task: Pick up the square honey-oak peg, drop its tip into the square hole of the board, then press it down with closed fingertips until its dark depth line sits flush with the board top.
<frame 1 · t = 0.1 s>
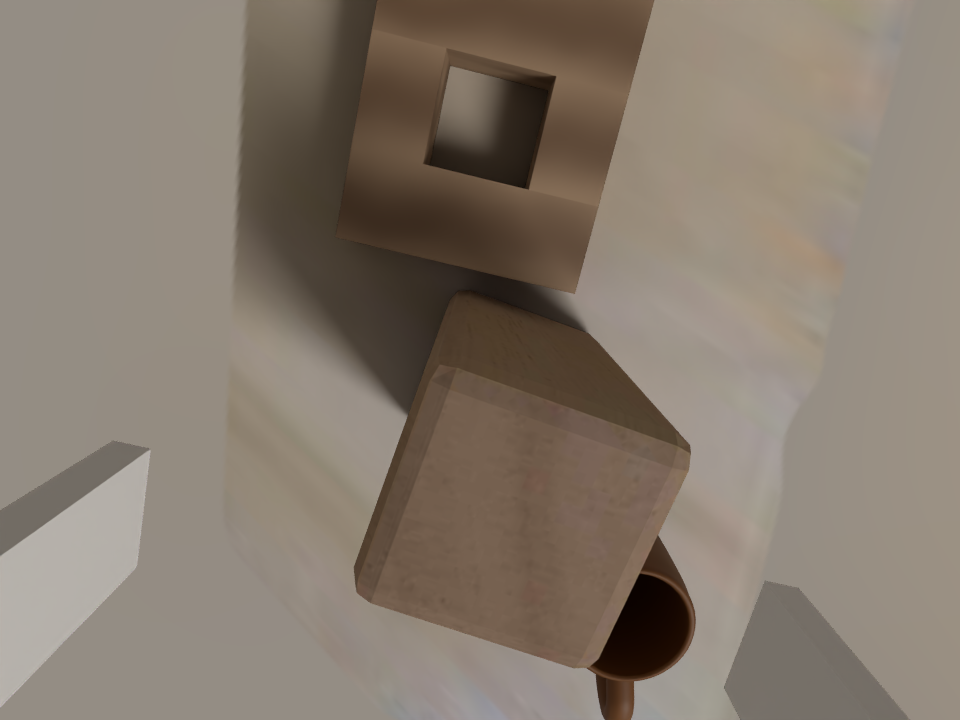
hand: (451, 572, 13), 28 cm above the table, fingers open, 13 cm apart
board: (487, 130, 37), on the table
mug: (597, 566, 44), on the table
block: (501, 379, 41), on the table
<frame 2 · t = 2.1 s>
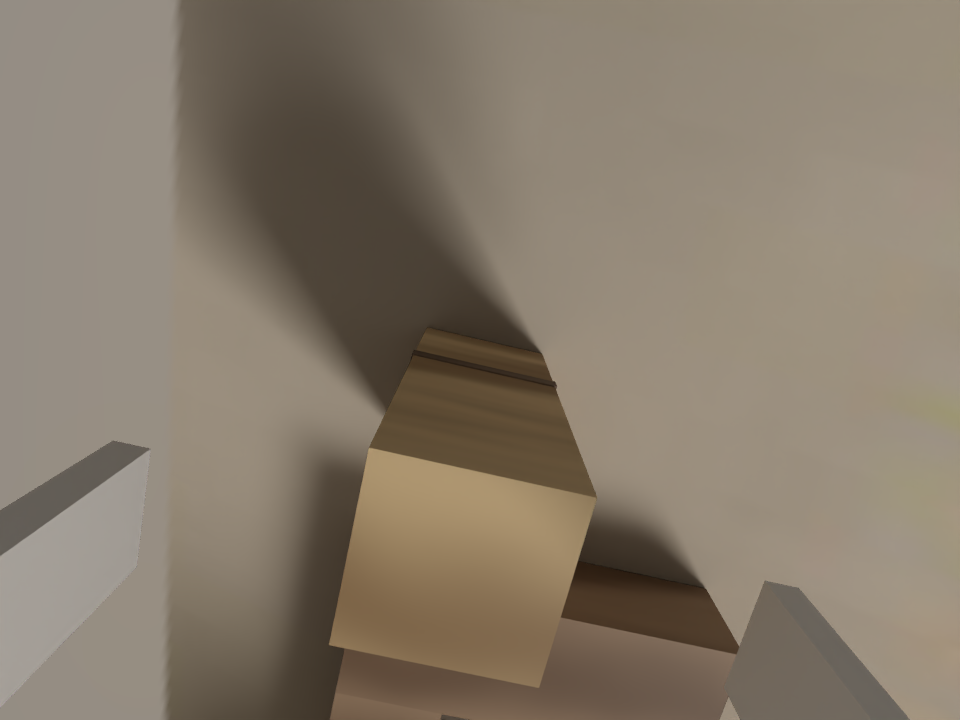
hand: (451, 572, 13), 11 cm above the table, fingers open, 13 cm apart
board: (499, 710, 28), on the table
peg: (471, 395, 24), on the table
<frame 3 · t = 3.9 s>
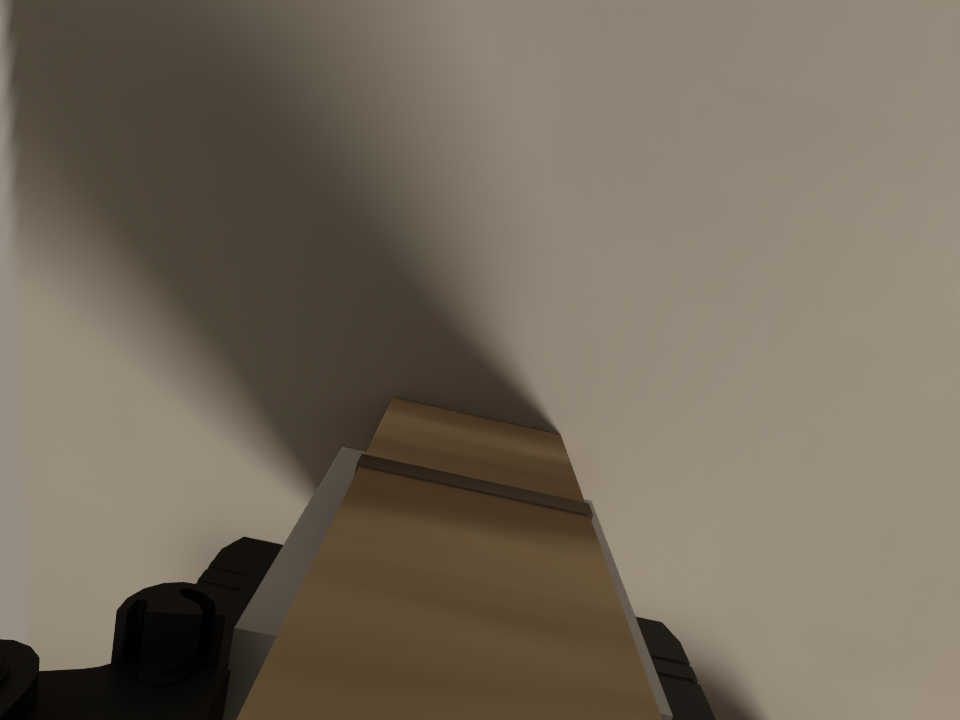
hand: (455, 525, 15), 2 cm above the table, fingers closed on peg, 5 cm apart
peg: (458, 493, 17), on the table, touching gripper
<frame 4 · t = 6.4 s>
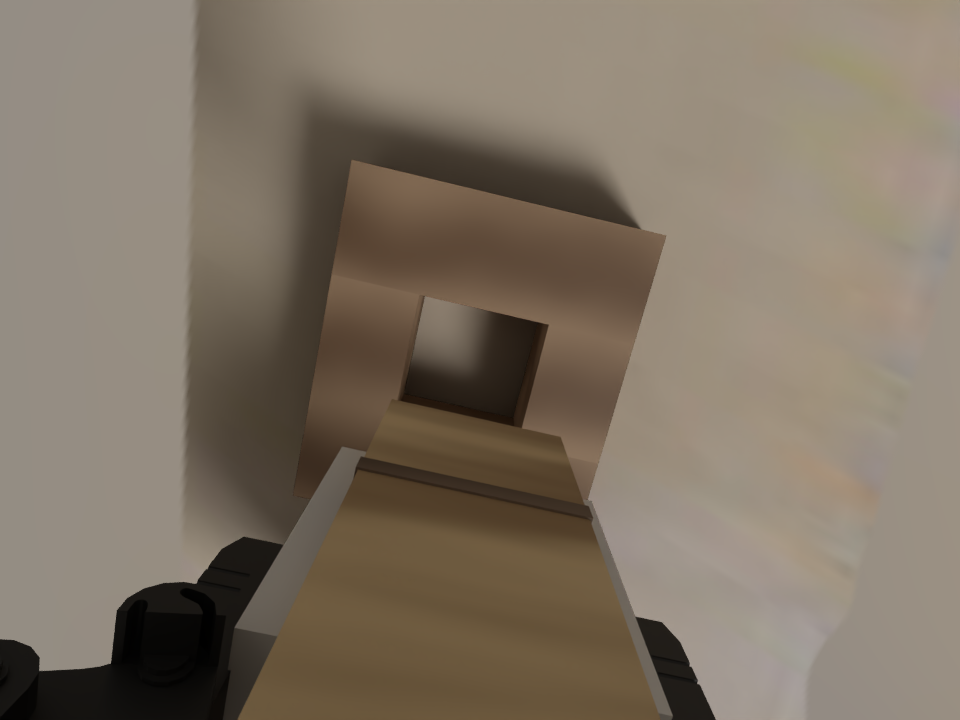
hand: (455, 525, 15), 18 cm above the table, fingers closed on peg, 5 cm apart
board: (471, 352, 32), on the table
peg: (457, 495, 17), point 16 cm above the table, touching gripper
when the fingers open (5 cm above the table, at t = 8.8 s): peg drops 3 cm, resting in board.
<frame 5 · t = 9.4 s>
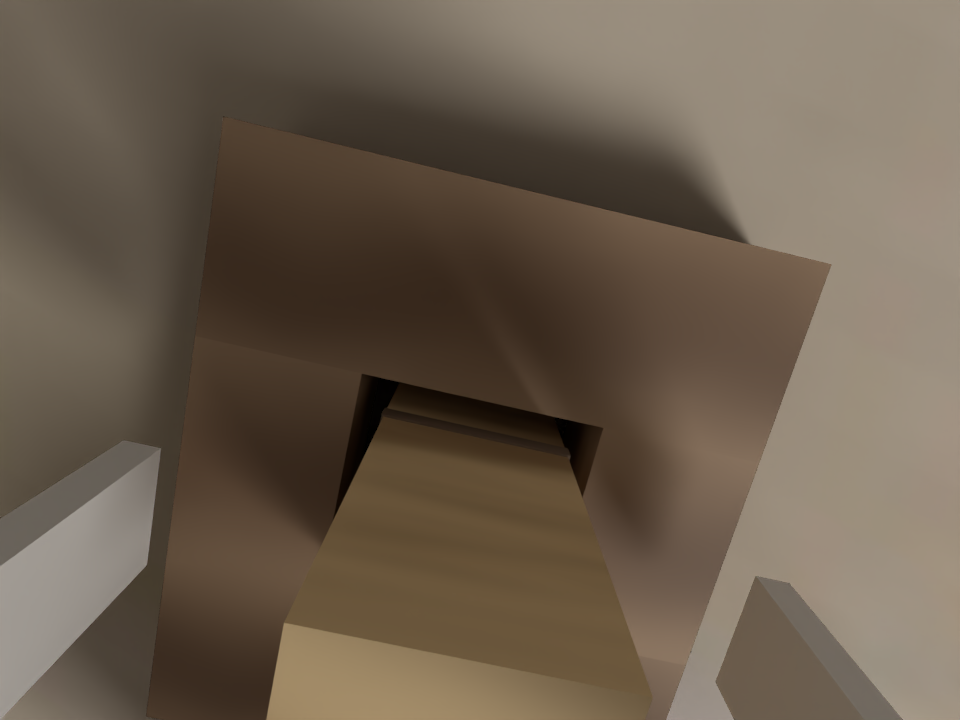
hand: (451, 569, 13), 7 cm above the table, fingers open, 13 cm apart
board: (461, 451, 19), on the table
peg: (461, 452, 20), resting in board
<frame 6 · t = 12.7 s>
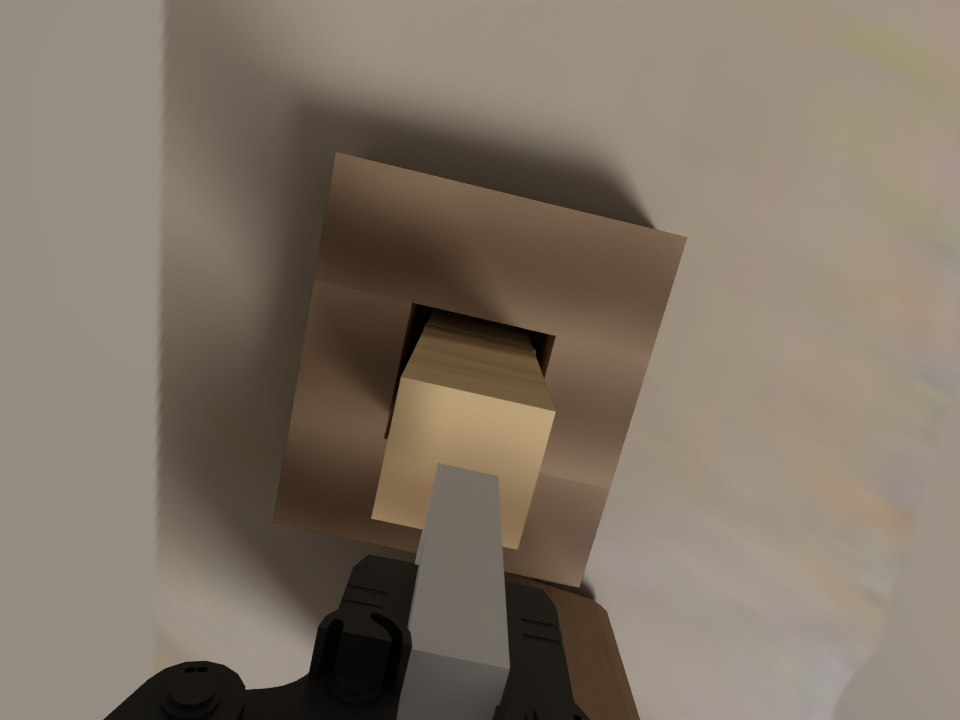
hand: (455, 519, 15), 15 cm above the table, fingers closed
board: (469, 364, 30), on the table
block: (488, 642, 34), on the table
peg: (469, 365, 30), resting in board
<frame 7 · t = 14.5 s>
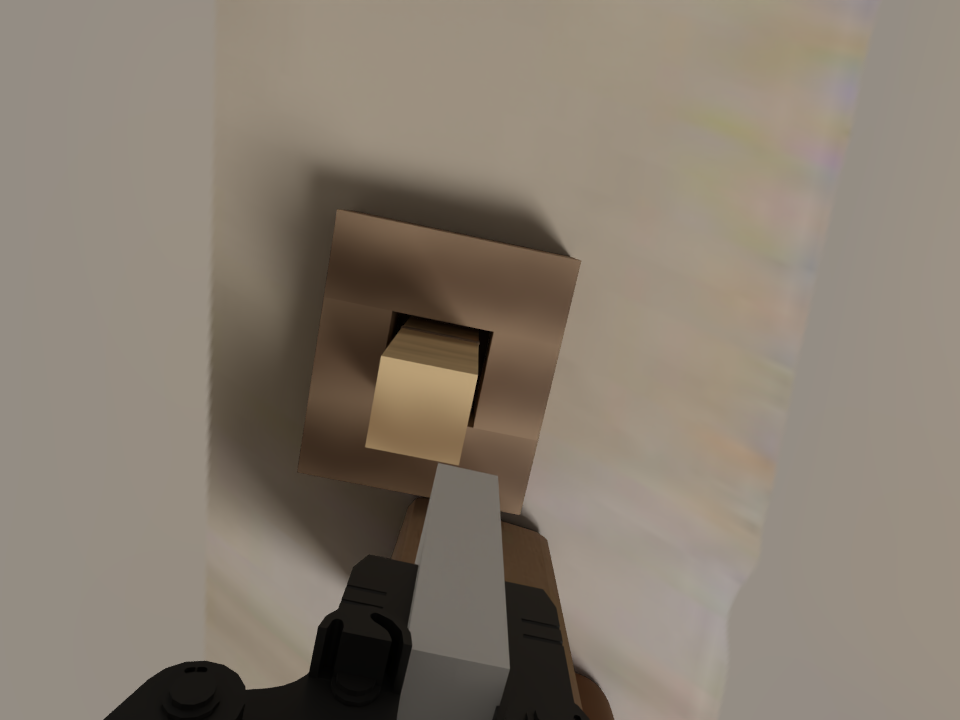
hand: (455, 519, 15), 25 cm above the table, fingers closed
board: (438, 356, 40), on the table
block: (460, 569, 44), on the table
peg: (438, 356, 40), resting in board
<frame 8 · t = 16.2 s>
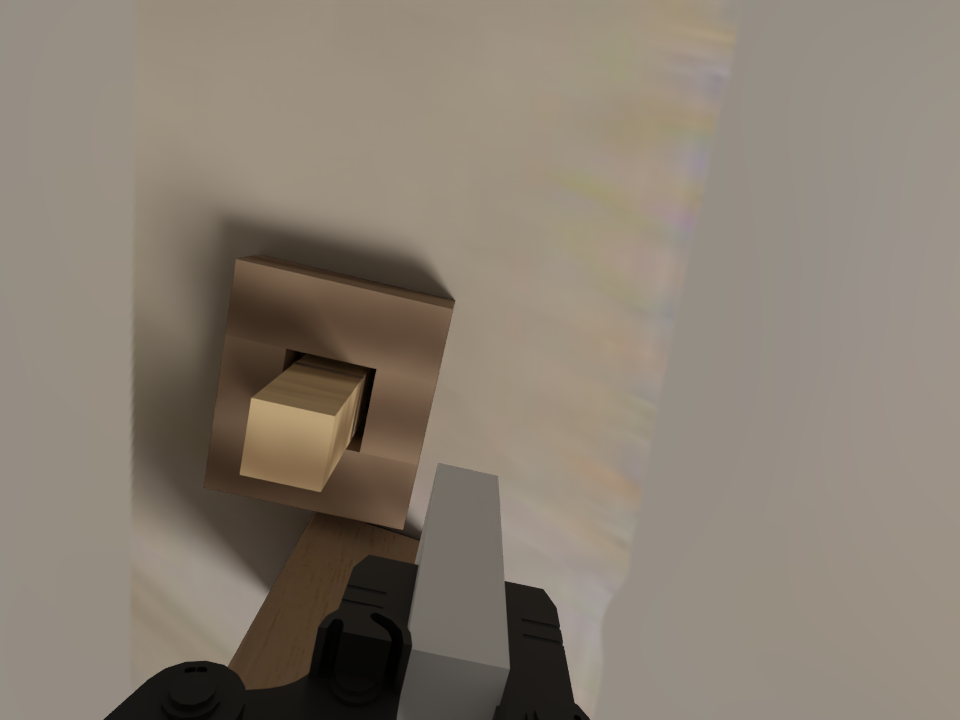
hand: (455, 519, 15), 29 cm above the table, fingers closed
board: (337, 385, 45), on the table
block: (360, 574, 49), on the table
peg: (337, 385, 45), resting in board
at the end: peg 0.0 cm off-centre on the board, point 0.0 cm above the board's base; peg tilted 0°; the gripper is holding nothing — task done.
